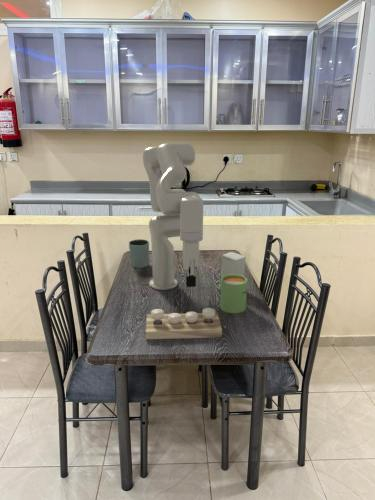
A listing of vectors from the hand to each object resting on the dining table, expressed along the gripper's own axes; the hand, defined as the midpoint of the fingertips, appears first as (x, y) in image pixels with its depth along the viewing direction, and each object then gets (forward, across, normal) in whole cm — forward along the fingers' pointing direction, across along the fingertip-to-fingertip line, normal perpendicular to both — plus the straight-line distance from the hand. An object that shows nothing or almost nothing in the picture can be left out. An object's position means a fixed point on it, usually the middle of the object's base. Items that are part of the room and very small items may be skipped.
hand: (191, 285), depth 136 cm
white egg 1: (+16, 0, -6) cm, 17 cm away
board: (+17, 0, -3) cm, 17 cm away
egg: (+15, 0, +6) cm, 16 cm away
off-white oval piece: (+15, 0, -12) cm, 19 cm away
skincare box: (+17, -33, +20) cm, 42 cm away
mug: (+17, -17, +18) cm, 30 cm away
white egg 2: (+16, 0, 0) cm, 16 cm away
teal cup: (+17, -64, -21) cm, 70 cm away
